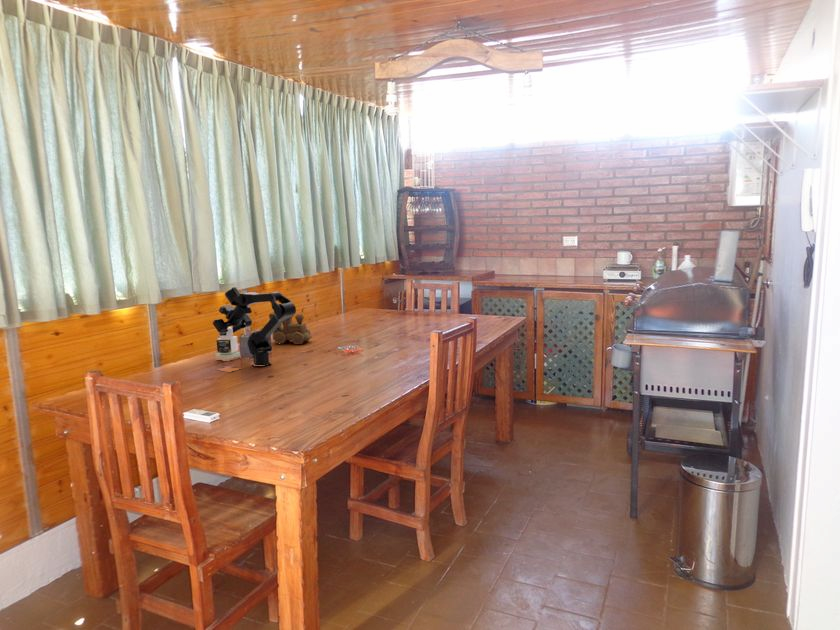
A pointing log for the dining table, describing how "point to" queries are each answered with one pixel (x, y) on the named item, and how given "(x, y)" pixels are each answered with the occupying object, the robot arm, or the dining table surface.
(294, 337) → the wooden toy train
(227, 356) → the base block
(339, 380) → the dining table surface
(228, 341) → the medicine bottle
